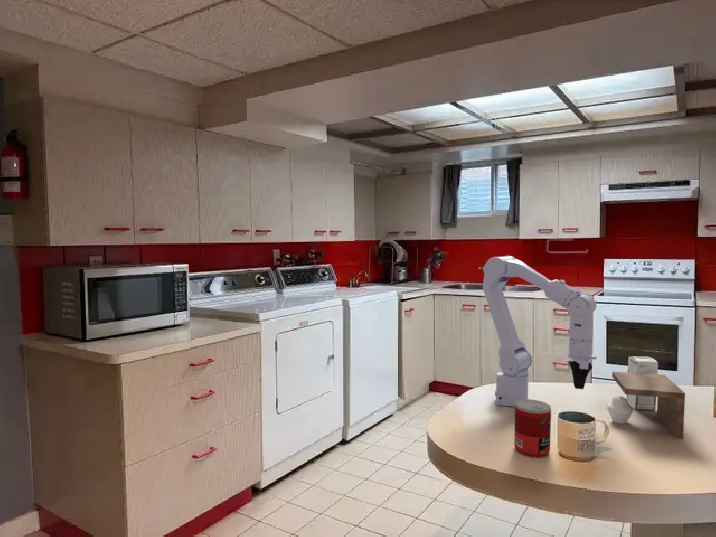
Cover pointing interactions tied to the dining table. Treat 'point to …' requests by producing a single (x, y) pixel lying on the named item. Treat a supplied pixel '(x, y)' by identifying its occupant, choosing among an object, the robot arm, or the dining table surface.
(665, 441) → the dining table surface
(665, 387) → the walnut shelf
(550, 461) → the dining table surface
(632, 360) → the syrup box
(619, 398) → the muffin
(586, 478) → the dining table surface
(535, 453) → the canned food
